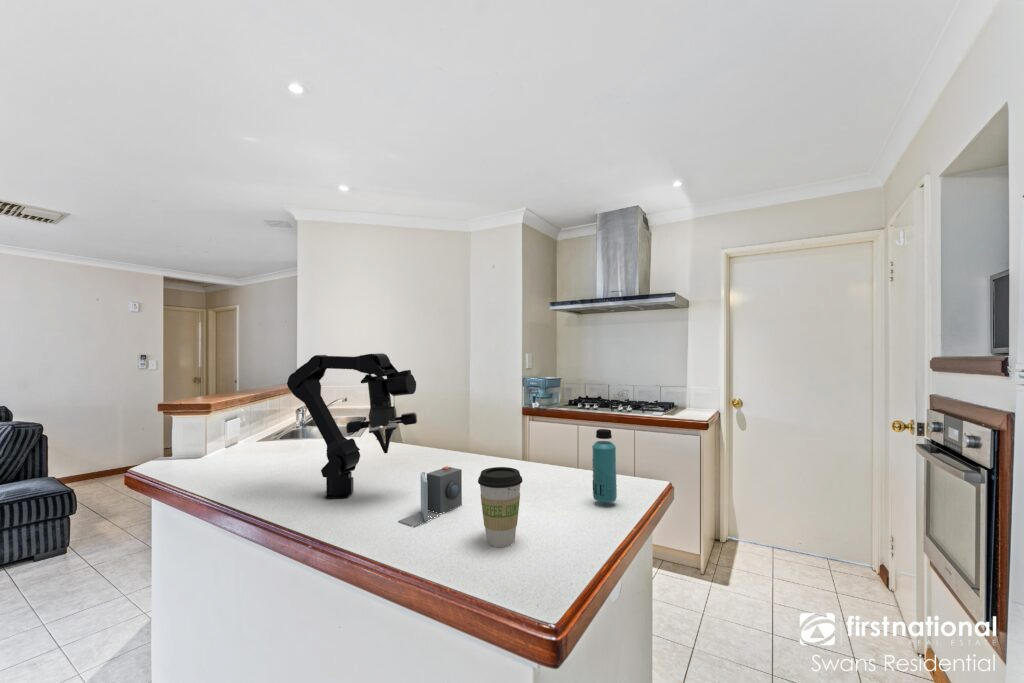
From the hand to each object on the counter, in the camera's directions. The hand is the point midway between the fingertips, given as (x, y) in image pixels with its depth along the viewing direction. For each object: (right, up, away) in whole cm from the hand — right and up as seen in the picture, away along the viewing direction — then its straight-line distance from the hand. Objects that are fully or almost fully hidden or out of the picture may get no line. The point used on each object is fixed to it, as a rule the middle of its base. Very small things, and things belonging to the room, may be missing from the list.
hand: (385, 453), depth 126 cm
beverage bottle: (+60, -13, -5) cm, 62 cm away
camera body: (+15, -13, -11) cm, 23 cm away
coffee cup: (+33, -13, -28) cm, 45 cm away
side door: (+13, -12, -13) cm, 22 cm away
